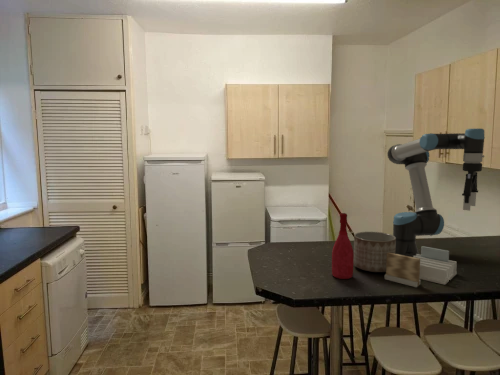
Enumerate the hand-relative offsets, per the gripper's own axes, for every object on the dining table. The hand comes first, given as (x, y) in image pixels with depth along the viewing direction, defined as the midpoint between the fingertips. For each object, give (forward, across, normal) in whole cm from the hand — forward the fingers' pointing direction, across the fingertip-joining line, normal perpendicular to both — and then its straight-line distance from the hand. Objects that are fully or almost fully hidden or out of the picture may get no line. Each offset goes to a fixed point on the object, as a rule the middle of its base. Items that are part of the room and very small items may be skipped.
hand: (469, 208), depth 165 cm
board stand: (+31, -31, +19) cm, 48 cm away
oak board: (+31, -31, +19) cm, 48 cm away
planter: (+32, -22, +36) cm, 52 cm away
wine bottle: (+32, -41, +43) cm, 67 cm away
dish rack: (+31, -13, +12) cm, 36 cm away
